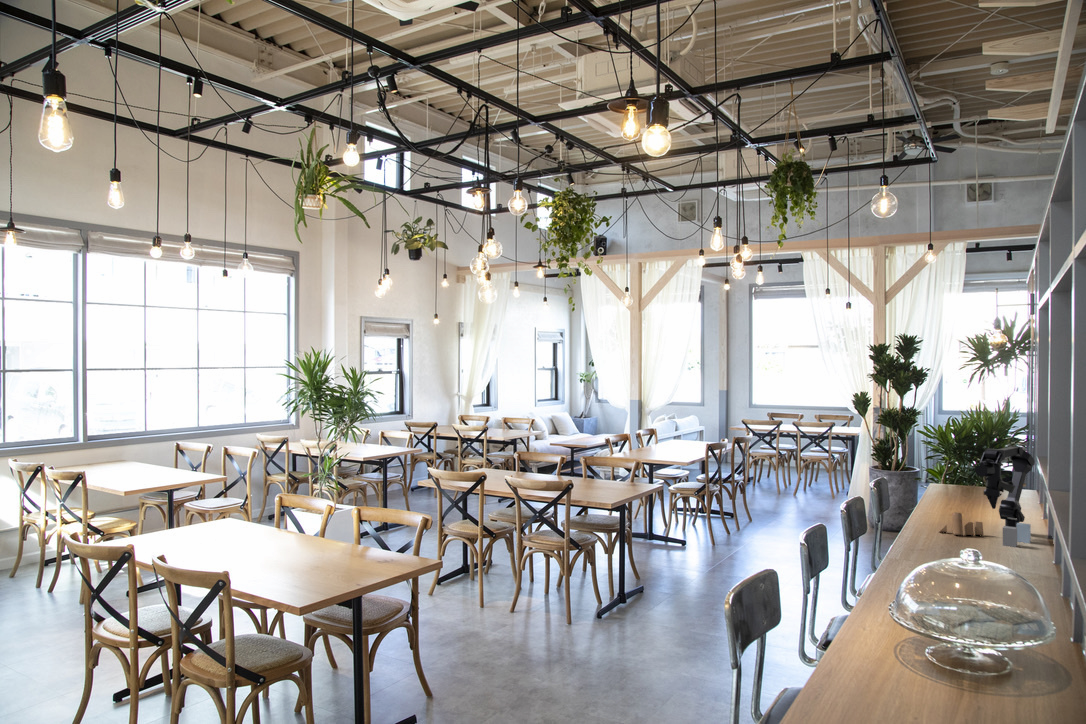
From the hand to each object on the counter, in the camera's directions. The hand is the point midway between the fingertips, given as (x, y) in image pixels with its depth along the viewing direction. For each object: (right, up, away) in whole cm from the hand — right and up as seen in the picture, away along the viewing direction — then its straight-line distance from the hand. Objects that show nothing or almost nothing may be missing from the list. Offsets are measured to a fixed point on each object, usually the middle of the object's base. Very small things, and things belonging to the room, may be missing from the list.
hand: (993, 508), depth 340 cm
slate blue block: (+7, -13, -11) cm, 18 cm away
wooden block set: (-14, -13, +2) cm, 20 cm away
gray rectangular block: (-4, -13, -18) cm, 23 cm away
